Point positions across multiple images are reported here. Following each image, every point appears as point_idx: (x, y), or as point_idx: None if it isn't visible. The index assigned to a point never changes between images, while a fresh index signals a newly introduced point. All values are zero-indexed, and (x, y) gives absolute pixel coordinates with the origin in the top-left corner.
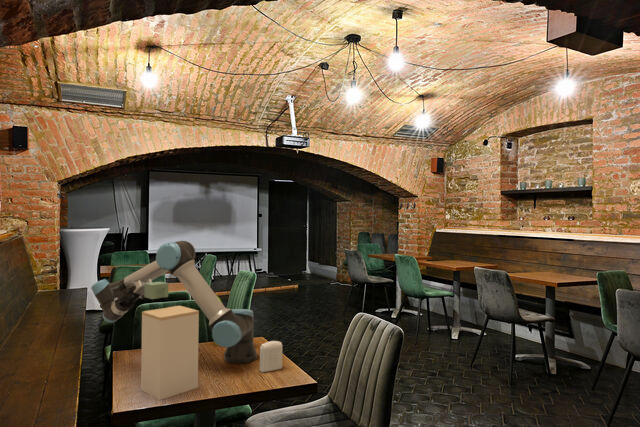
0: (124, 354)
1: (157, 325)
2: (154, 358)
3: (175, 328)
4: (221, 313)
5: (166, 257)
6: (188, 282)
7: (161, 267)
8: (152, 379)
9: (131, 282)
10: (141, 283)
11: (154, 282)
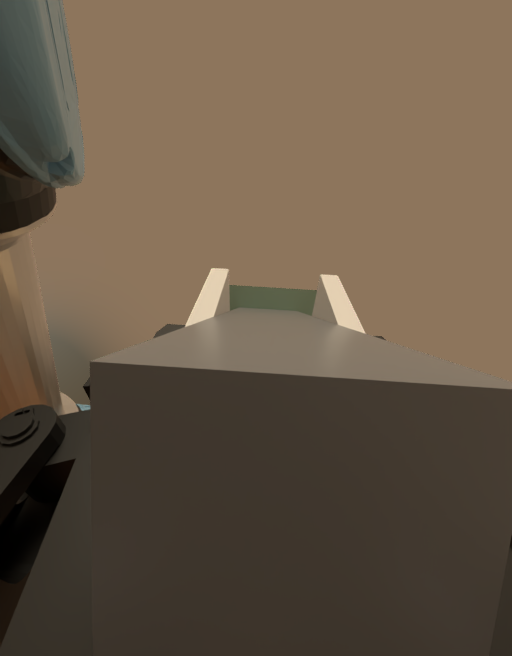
0: None
1: None
2: None
3: None
4: (63, 396)
5: (61, 46)
6: (40, 298)
7: (59, 133)
8: None
9: (438, 364)
10: (273, 320)
11: (262, 287)
